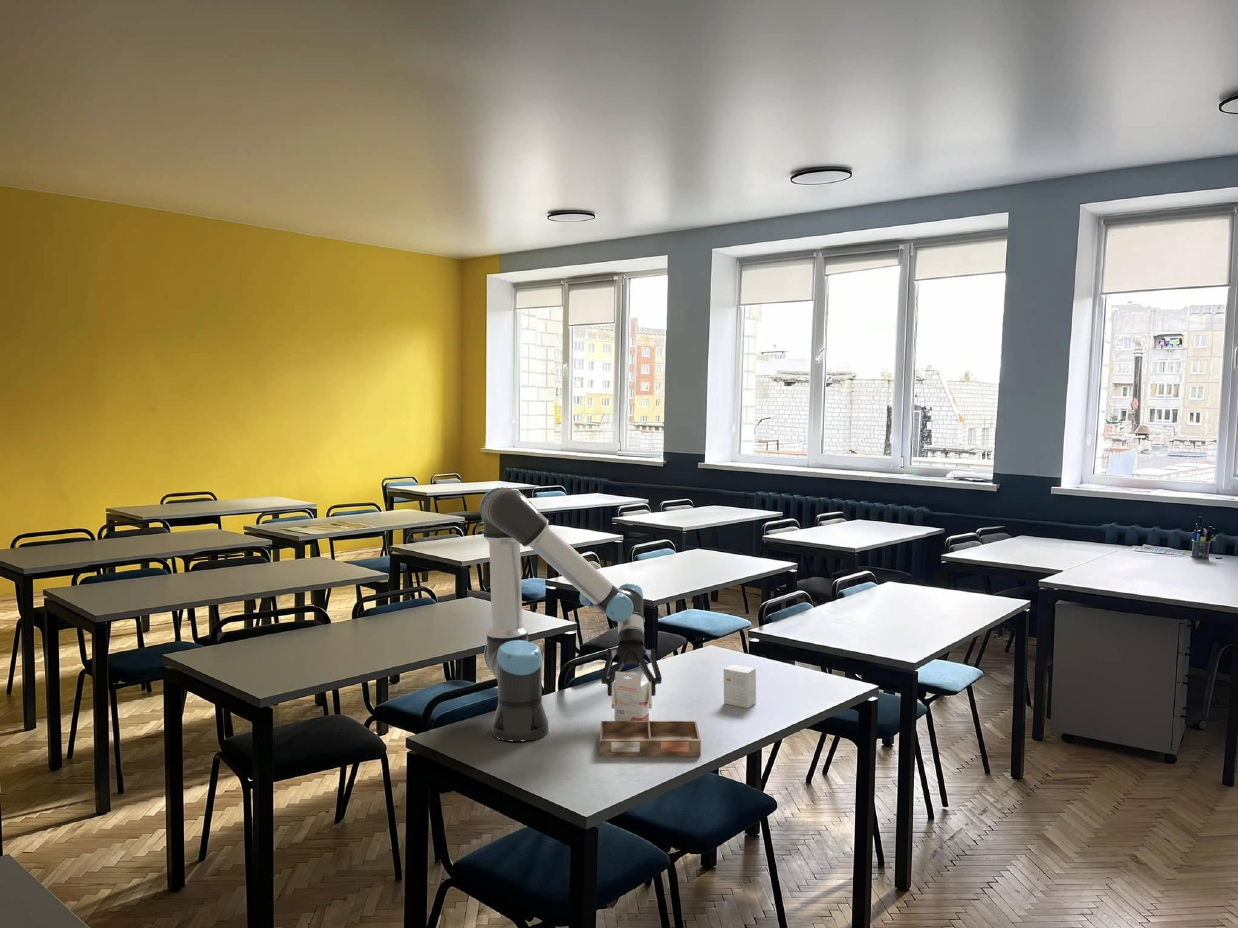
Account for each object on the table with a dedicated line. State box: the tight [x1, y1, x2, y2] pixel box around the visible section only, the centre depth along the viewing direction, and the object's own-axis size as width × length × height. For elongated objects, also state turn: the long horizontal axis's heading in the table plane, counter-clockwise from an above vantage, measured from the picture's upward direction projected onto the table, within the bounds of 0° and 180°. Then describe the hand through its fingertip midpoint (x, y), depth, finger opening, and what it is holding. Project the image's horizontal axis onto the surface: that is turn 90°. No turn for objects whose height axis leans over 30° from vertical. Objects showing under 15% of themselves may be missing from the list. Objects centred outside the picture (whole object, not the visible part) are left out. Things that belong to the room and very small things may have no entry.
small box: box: [723, 664, 757, 709], centre depth 247 cm, size 8×6×10 cm
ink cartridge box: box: [614, 671, 650, 721], centre depth 231 cm, size 9×5×15 cm, turn 62°
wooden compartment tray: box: [599, 720, 702, 757], centre depth 215 cm, size 25×14×4 cm, turn 90°
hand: (631, 706), depth 228 cm, fingers closed on ink cartridge box, 9 cm apart
